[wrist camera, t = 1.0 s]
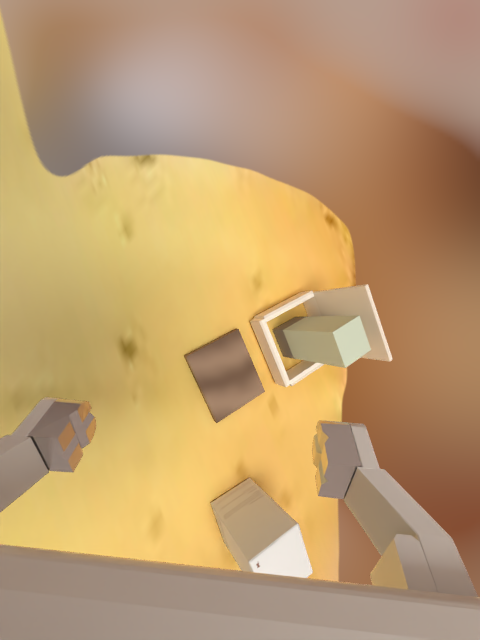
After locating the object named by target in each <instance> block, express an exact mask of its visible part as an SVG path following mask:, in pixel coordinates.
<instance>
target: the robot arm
mask: <svg viewBox="0 0 480 640" xmlns="http://www.w3.org/2000/svg"><path fill="white" fill-rule="evenodd" d="M90 410H91V406H90V403H89V402H87V401H79V400H70V399H61V398H51V397H45V398H43V399H42V400H40V401H39V403H38V404H37V405H36V406H35V407H34V409H33V410H32V411H31V412H30V413H29V414H28V416H27V417H26V418H25V419H24V420H23V422H22V423H21V424H20V425H19V426H18V427H17V429H16V430H15V431H14V432H13V433H12V435H6V436H4V437H2V438H0V512H1V511H3V510H4V509H5V508H6V507H7V506H9V505H10V504H11V503H12V502H14V501H15V500H16V499H17V498H18V497H20V496H21V495H22V494H23V493H24V492H26V491H27V490H28V489H29V488H30V487H32V486H33V485H34V484H35V483H36V482H38V481H39V480H40V479H41V478H42V477H44V476H45V475H46V474H47V473H49V471H61V472H74V470H75V468H76V466H77V465H78V463H79V461H80V460H81V458H82V456H83V450H82V448H84V447H85V446H86V445H88V444H89V443H90V442H91V440H92V438H93V436H94V433H95V429H96V420H95V417H94V416H93V415H92V414H91V413H89V411H90ZM316 429H317V434H316V435H315V436H314V439H313V446H312V455H313V464H314V465H315V466H316V467H317V471H316V475H315V479H316V486H317V493H318V496H322V497H330V498H338V499H344V502H345V503H346V505H347V506H348V507H349V509H350V510H351V512H352V513H353V515H354V516H355V518H356V519H357V521H358V522H359V524H360V525H361V527H362V528H363V530H364V531H365V532H366V534H367V535H368V537H369V538H370V540H371V541H372V542H373V544H374V546H375V547H376V548H377V550H378V552H379V553H380V554H381V556H382V557H381V558H380V560H379V561H378V563H377V564H376V566H375V567H374V569H373V571H372V572H371V573H370V576H371V581H372V585H364V584H354V583H346V582H337V581H328V580H319V579H310V578H301V577H292V576H283V575H274V574H265V573H256V572H247V571H238V570H229V569H220V568H211V567H202V566H193V565H184V564H175V563H166V562H157V561H148V560H139V559H130V558H121V557H111V556H102V555H93V554H84V553H75V552H66V551H57V550H48V549H39V548H30V547H21V546H12V545H3V544H0V640H480V597H478V596H477V593H476V591H475V589H474V586H473V584H472V582H471V580H470V577H469V576H468V573H467V571H466V568H465V566H464V564H463V562H462V559H461V557H460V555H459V553H458V550H457V548H456V546H455V544H454V542H453V540H452V538H451V537H450V536H449V535H448V534H447V533H446V532H445V531H444V530H443V529H442V528H441V527H440V526H439V525H438V524H437V523H436V522H435V521H434V519H433V518H432V517H431V516H430V515H429V514H428V513H427V512H426V511H425V510H424V509H423V508H422V507H421V506H420V505H419V504H418V503H417V502H416V501H415V500H414V499H413V498H412V497H411V496H410V495H409V494H408V493H407V492H406V491H405V490H404V489H403V488H402V487H401V486H400V485H399V484H398V483H397V482H396V481H395V480H394V479H393V478H392V477H391V476H390V475H389V474H388V473H387V472H386V471H385V470H384V469H380V468H379V465H378V462H377V459H376V456H375V453H374V450H373V447H372V444H371V441H370V438H369V435H368V432H367V429H366V427H365V425H364V424H356V423H347V422H334V421H320V420H319V421H318V423H317V426H316Z"/></svg>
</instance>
